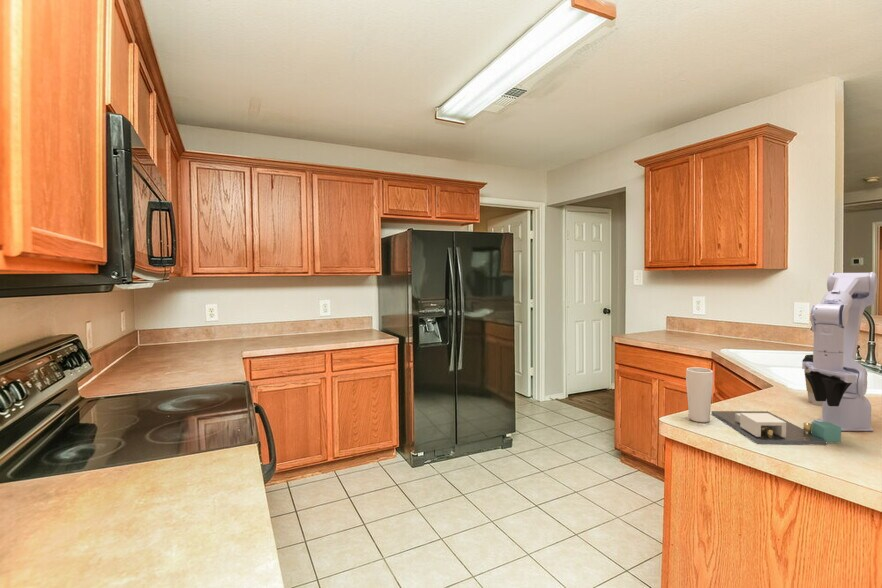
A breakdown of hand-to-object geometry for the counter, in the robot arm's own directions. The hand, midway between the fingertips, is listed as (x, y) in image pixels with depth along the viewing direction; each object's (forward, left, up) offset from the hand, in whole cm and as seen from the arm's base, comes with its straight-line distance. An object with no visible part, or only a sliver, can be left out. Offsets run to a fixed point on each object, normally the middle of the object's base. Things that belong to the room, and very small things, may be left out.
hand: (826, 403), depth 109 cm
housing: (+14, -4, -8) cm, 17 cm away
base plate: (+11, -8, -9) cm, 16 cm away
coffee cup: (-20, -30, -10) cm, 37 cm away
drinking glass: (+25, -14, -10) cm, 30 cm away
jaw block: (0, 0, -10) cm, 10 cm away
